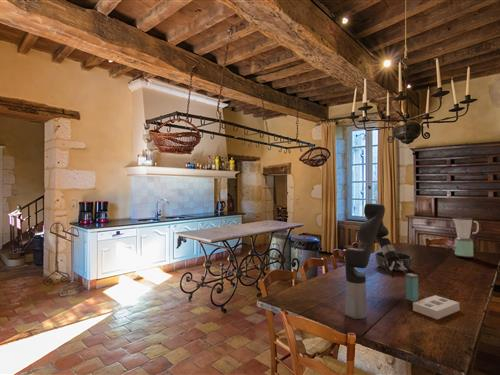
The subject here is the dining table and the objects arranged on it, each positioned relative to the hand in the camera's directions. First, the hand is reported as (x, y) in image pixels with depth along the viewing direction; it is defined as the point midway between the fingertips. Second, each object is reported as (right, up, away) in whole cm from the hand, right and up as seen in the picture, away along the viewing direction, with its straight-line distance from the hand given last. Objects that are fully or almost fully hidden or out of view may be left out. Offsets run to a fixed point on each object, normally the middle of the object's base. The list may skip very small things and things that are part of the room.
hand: (400, 276), depth 176 cm
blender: (+98, -8, +81) cm, 128 cm away
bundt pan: (+21, -9, +53) cm, 58 cm away
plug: (+1, -9, -11) cm, 14 cm away
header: (+5, -9, -26) cm, 28 cm away
